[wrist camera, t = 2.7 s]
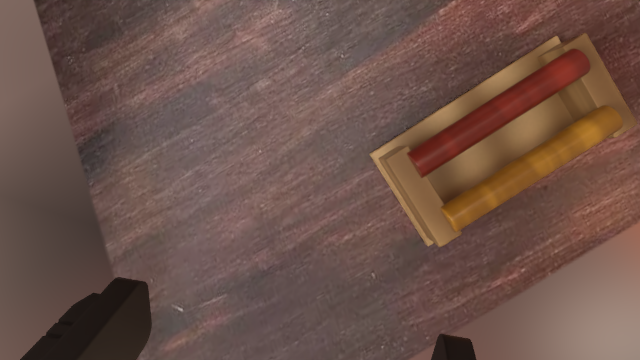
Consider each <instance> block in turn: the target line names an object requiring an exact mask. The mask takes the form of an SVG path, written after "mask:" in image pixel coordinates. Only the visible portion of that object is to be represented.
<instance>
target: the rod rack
mask: <svg viewBox="0 0 640 360" xmlns="http://www.w3.org/2000/svg"><path fill="white" fill-rule="evenodd" d="M635 125H637V122H636V120H635V118H634V116H633V115H632V113H631V111H630V109H629V108H628V106H627V104H626V102H625V101H624V99H623V97H622V95H621V94H620V92H619V90H618V88H617V86H616V85H615V83H614V81H613V79H612V78H611V76H610V74H609V72H608V71H607V69H606V67H605V65H604V64H603V62H602V60H601V58H600V57H599V55H598V53H597V51H596V49H595V48H594V46H593V44H592V42H591V41H590V39H589V37H588V35H587V34H586V33H583V34H581V35H578V36H576V37H574V38H571V39H569V40H567V41H564V42H562V43H561V42H560V40H559V38H558V36H554V37H552V38H550V39H549V40H547V41H546V42H544V43H542V44H541V45H539V46H538V47H536V48H535V49H533V50H531V51H530V52H528V53H527V54H525V55H524V56H522V57H520V58H519V59H517V60H516V61H514V62H513V63H511V64H509V65H508V66H506V67H505V68H503V69H502V70H500V71H498V72H497V73H495V74H494V75H492V76H491V77H489V78H487V79H486V80H484V81H483V82H481V83H480V84H478V85H476V86H475V87H473V88H472V89H470V90H469V91H467V92H465V93H464V94H462V95H461V96H459V97H458V98H456V99H454V100H453V101H451V102H450V103H448V104H447V105H445V106H443V107H442V108H440V109H439V110H437V111H436V112H434V113H432V114H431V115H429V116H428V117H426V118H425V119H423V120H421V121H420V122H418V123H417V124H415V125H414V126H412V127H410V128H409V129H407V130H406V131H404V132H403V133H401V134H399V135H398V136H396V137H395V138H393V139H392V140H390V141H388V142H387V143H385V144H384V145H382V146H381V147H379V148H377V149H376V150H374V151H373V152H371V153H370V156H371V158H372V159H373V161H374V163H375V164H376V166H377V167H378V169H379V171H380V172H381V174H382V175H383V177H384V179H385V180H386V182H387V183H388V185H389V187H390V188H391V190H392V191H393V193H394V195H395V196H396V198H397V199H398V201H399V203H400V204H401V206H402V207H403V209H404V211H405V212H406V214H407V215H408V217H409V219H410V220H411V222H412V223H413V225H414V227H415V228H416V230H417V231H418V233H419V235H420V236H421V238H422V239H423V241H424V243H425V244H426V245H427V246H430V245H431V244H433V243H435V244H437V245H438V246H439V247H442V246H444V245H445V244H447V243H448V242H450V241H452V240H453V239H455V238H456V237H458V236H460V235H461V234H462V232H461V231H460V230H461V229H462V228H464V227H466V226H467V225H469V224H470V223H472V222H473V221H475V220H477V219H478V218H480V217H481V216H483V215H485V214H486V213H488V212H489V211H491V210H493V209H494V208H496V207H497V206H499V205H501V204H502V203H504V202H505V201H507V200H509V199H510V198H512V197H513V196H515V195H516V194H518V193H520V192H521V191H523V190H524V189H526V188H528V187H529V186H531V185H532V184H534V183H536V182H537V181H539V180H540V179H542V178H544V177H545V176H547V175H548V174H550V173H552V172H553V171H555V170H556V169H558V168H560V167H561V166H563V165H564V164H566V163H567V162H569V161H571V160H572V159H574V158H575V157H577V156H579V155H580V154H582V153H583V152H585V151H587V150H588V149H590V148H591V147H593V146H595V145H596V144H598V143H599V142H601V141H603V140H604V139H606V138H616V137H617V136H619V135H621V134H622V133H624V132H625V131H627V130H629V129H630V128H632V127H633V126H635Z"/></svg>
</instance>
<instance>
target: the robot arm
mask: <svg viewBox="0 0 640 360" xmlns="http://www.w3.org/2000/svg"><path fill="white" fill-rule="evenodd" d="M151 325H152V322H151V312H150V302H149V292H148V285H147V283H146V282H144V281H138V280H132V279H126V278H121V277H118V278H115V279H114V280H113V281H112V282H111V283H110V284H109V285H108V286H107V287H106V289H105V290H104V291H103V292H102V293H101V294H97V293H92V294H91V295H89V296H87V297H86V298H84V299H82V300H80V301H79V302H77V303H76V304H74V305H73V306H72V307H71V308H70V309H69V310H68V311H67V312H66V313H65V314H64V315H63V316H62V317H61V318H60V319H59V322H58V323H55V324H54V325H53V326H52V327H51V328H50V329H49V330H48V332H47V333H46V336H43V337H42V338H41V339H40V340H39V341H38V342H37V343H36V344H35V345H34V346H33V347H32V348H31V349H30V350H29V351H28V352H27V353H26V354H25V355H24V356H23V357H22V358H21V359H20V360H136V359H137V357H138V356H139V354H140V353H141V351H142V350H143V348H144V347H145V345H146V343H147V341H148V338H149V335H150V332H151ZM431 360H476V357H475V353H474V349H473V345H472V342H471V340H470V339H468V338H462V337H456V336H450V335H445V334H440V335H439V336H438V339H437V342H436V345H435V348H434V352H433V355H432V359H431Z"/></svg>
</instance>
